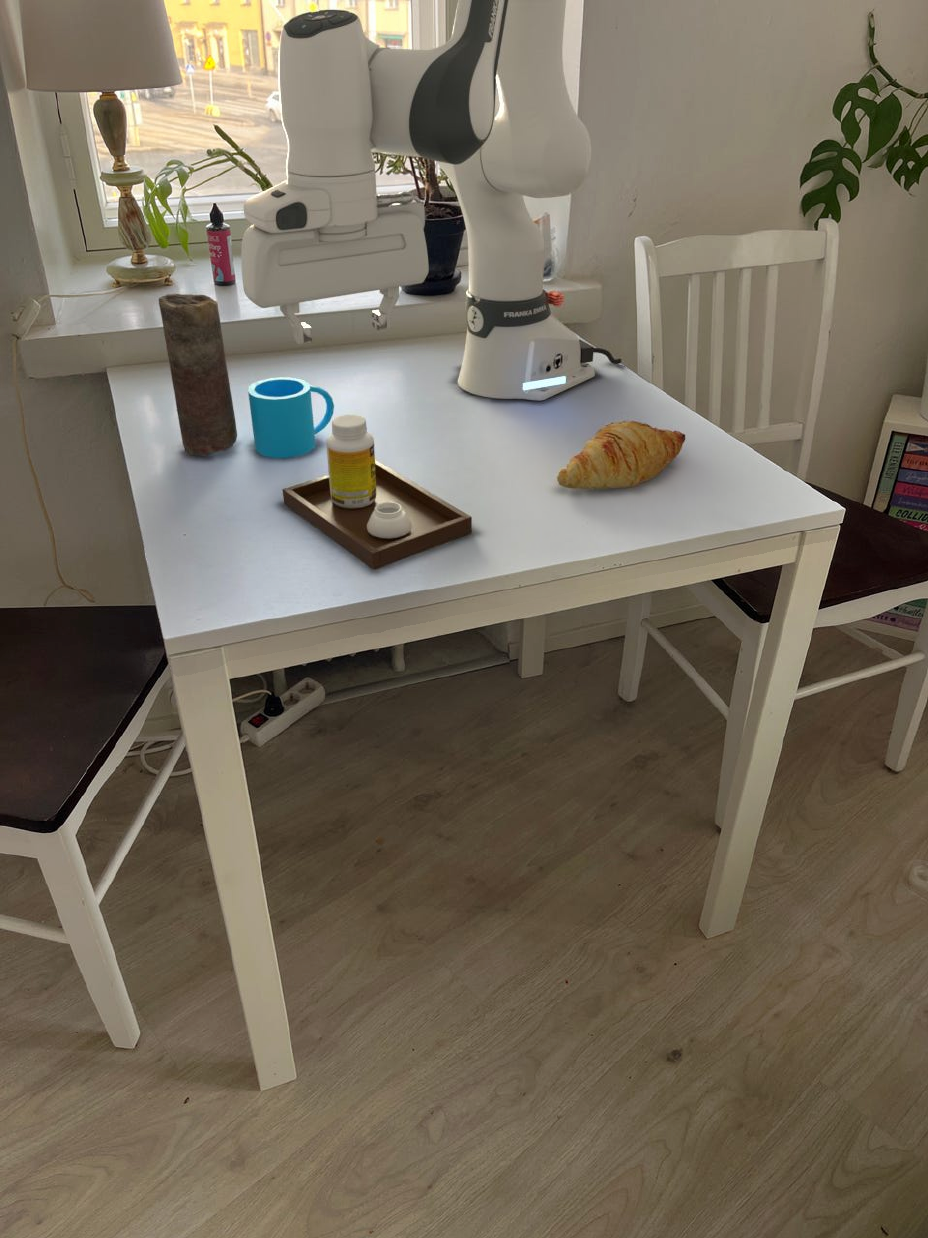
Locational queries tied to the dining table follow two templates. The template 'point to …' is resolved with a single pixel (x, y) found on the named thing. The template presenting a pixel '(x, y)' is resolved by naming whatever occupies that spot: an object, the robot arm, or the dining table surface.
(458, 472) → the dining table surface
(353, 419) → the supplement bottle
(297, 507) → the serving tray
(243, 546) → the dining table surface
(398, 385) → the dining table surface
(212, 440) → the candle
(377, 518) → the lidless jar
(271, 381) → the mug
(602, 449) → the croissant
